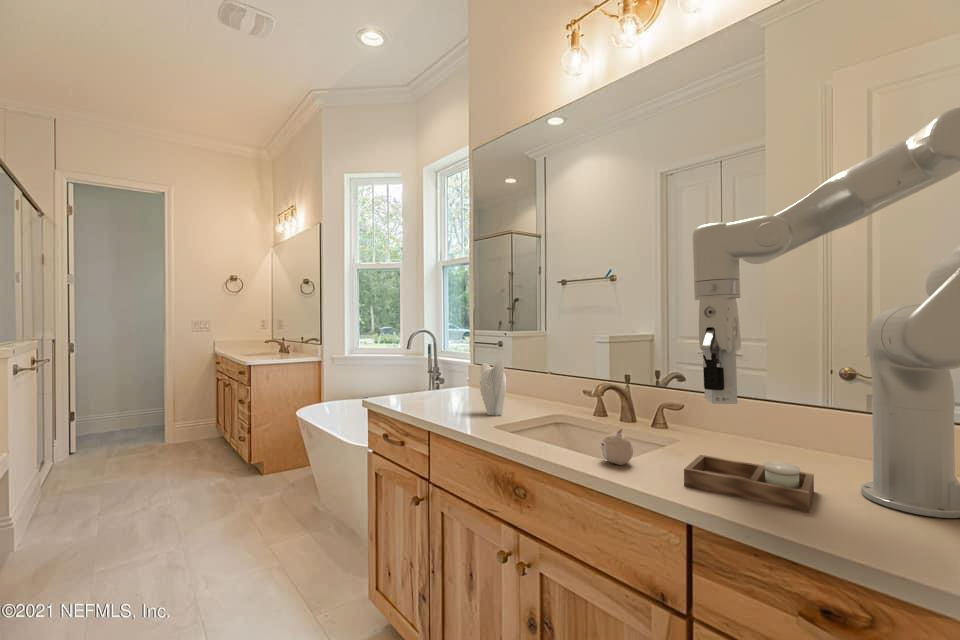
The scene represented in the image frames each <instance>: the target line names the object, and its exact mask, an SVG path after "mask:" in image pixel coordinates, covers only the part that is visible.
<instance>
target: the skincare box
mask: <svg viewBox="0 0 960 640" xmlns="http://www.w3.org/2000/svg"><path fill="white" fill-rule="evenodd" d="M712 349H713V350H719V348H716V347H714V346H713V347H712ZM702 353H703V352H702ZM736 353H737V351H736V347H735V337H733V351H732V352H731V353H726V352H725V350H723V356H722V366H721V368H724V390H707V389H705V388H704V387H703V390H704V399H705V400H706V401H709V402H710V403H712V404H716V405H718V404H719V405H720V404H724V405H737V404H738V385H737V384H738V383H737V382H738V379H737V357H736V356H737V355H736ZM703 355H704V353H703ZM703 355H702V356H703ZM702 358H703V357H702ZM716 358H717V355H716ZM702 360H704V358H703V359H702Z"/></svg>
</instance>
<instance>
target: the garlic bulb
mask: <svg viewBox="0 0 960 640" xmlns="http://www.w3.org/2000/svg"><path fill="white" fill-rule="evenodd" d="M600 444H601V446H600V448H601V453H602V456H603V458H604V460H606V461H607V462H609V463H610V462H611V464H613V463H614V464H615V465H619V466H623V465H626V464H627V463H629V462H630V460H632V457H633V455H634V447H633V446H632V443H631V441H630V440H629V438H628V436H625V434H624V433H623V428H620V429H619V430H618V431H617V432H613V433H609V434H607V435H606V436H605V437H603V439H602V441H601V443H600Z"/></svg>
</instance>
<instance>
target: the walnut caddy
mask: <svg viewBox="0 0 960 640" xmlns="http://www.w3.org/2000/svg"><path fill="white" fill-rule="evenodd" d="M814 477H815V474H814V473H811V472H803V471H800V474H799V489H795V488H790V487H784V486H779V485H774V484H769V483H765V469H764V464H763V465H761V464H758V463H752V462H751V463H750V462H745V461H739V460H734V459H728V458H723V457H715V456H712V455H711V456H709V455H704V454H699V455H698V456H697V457H696V458H695V459H694V460H692V461H691V462H690V463H689V464H688V465H687V466H685V468H684V469H683V486H684V487H688V488H692V489H697V490H702V491H706V492H711V493H716V494H721V495H725V496H729V497H734V498H739V499H742V500H748V501H752V502H756V503H757V502H758V503H762V504H766V505H771V506H774V507H775V506H776V507H780V508H784V509H790V510H794V511H799V512H803V513H809V512H810V509H811V505H812V501H813V496H814V494H815V481H814V480H815V479H814Z"/></svg>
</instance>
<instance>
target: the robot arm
mask: <svg viewBox="0 0 960 640" xmlns="http://www.w3.org/2000/svg"><path fill="white" fill-rule="evenodd" d="M959 172H960V106H959V107H955V108H952V109H949V110H946V111H944V112H942V113H941V114H939V115H937V116H936V117H935V118H934V119H932V120H931V121H930V122H929V123H927V124H925V126H923V127H922V128H921V129H920V130H917V131H916V132H915V133H913V134H911V135H909V136H908V137H905V138H904V139H902V140H900V141H898V142H896V143H894V144H892V145H890V146H889V147H886V148H885V149H883V150H881V151H880V152H877V153H876V154H873V155H872V156H870V157H868V158H866V159H864V160H862V161H860V162H858V163H856V164H854V165H853V166H849V167H848V168H846V169H844V170H842V171H840V172H838V173H837V174H835V175H833V176H832V177H830V178H829V179H827V180H826V181H825V182H823V183H822V184H820V185H819V186H818V187H817V188H815V189H814V190H813V191H812V192H810V193H809V194H807V195H806V196H805V197H803V198H802V199H800V200H798V201H797V202H796V203H793V204H792V205H790V206H788V207H787V208H785V209H783V210H782V211H779V212H777V213H776V214H774V215H773V214H770V215H769V214H767V215H766V214H765V215H760V216H755V217H750V218H746V219H741V220H738V221H731V222H722V221H721V222H711V223H707V224H702V225H700V226H698V227H696V228H695V229H694V230H693V233H692V256H693V257H692V258H693V260H692V261H693V282H694V284H693V285H694V286H693V287H694V288H693V289H694V300H695V301H699V304H698V305H699V306H698V341H699V349H700V350H701V352H702V353H704V355H702V358H704V359H702V360H703V361H702V364H703V365H702V366H703V367H702V368H703V370H702V371H703V389H704V388H705V389H707V390H724V368H721V366H722V356H723V350H725V352H726V353H731V352H732V351H733V337H735V347H736V352H738V351H739V350H741V348H742V340H741V330H740V319H739V310H738V309H739V308H738V303H737V299H740V298H741V277H740V260H743V261H744V262H745V263H749V264H752V265H761V264H765V263H766V264H767V263H768V262H771V261H774V259H778V258H779V257H781V256H783V255H785V254H786V253H789V252H791V251H793V250H796V249H797V248H800V247H802V246H804V245H806V244H808V243H810V242H813V241H814V240H816V239H818V238H820V237H822V236H824V235H827V234H829V233H833V232H834V231H836V230H839V229H842V228H846V227H847V226H849V225H852V224H854V223H856V222H858V221H860V220H862V219H865V218H866V217H868V216H871V215H873V214H874V213H876V212H878V211H879V212H880V211H881V210H883V209H885V208H887V207H889V206H891V205H893V204H895V203H897V202H899V201H901V200H903V199H907V197H910V196H912V195H913V194H916V193H918V192H920V191H923V190H925V189H926V188H928V187H931V186H933V185H935V184H937V183H939V182H941V181H943V180H946V179H948V178H949V177H951V176H953V175H955V174H957V173H959ZM925 291H926V293H927V296H928V297H927V299H925V300H924V301H923V302H922V303H920V304H907V305H898V306H894V307H892V308H889V309H887V310H885V311H883V312H881V313H879V314H878V315H877V316H876V317H874V319H873V320H872V322H871V323H870V325H869V327H868V329H867V332H866V333H867V335H866V347H867V354H868V358H869V364H870V365H869V366H870V373H871V390H872V391H871V394H872V398H871V399H872V400H871V401H872V402H871V408H872V414H871V415H872V417H871V419H872V425H871V426H872V481H869V482H864V483H862V484H861V486H860V492H861V495H863V496H864V497H865V498H866V499H868V500H870V501H872V502H874V503H875V504H879V505H881V506H884V507H886V508H890V509H893V510H896V511H902V512H905V513H910V514H914V515H918V516H919V515H920V516H925V517H933V518H940V519H941V518H943V519H960V482H959V480H958V479H957V477H956V469H955V468H956V465H955V464H956V463H955V462H956V461H955V455H956V453H955V406H956V405H955V401H956V400H955V399H956V398H955V391H954V390H955V389H954V382H953V378H952V374H951V370H955V369H959V368H960V243H959V244H958V245H957V246H956V247H955V248H954V249H953V250H952V251H951V252H950V253H949V254H947V255H946V256H945V257H944V258H943V259H941V260H940V261H939V262H938V263H937V264H936V265H935V266H934V267H933V268H932V270H931V271H930V273H929V274H928V276H927V278H926V280H925ZM713 346H714V347H716V348H719V350H713V349H712V347H713ZM716 355H717V358H716Z"/></svg>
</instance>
